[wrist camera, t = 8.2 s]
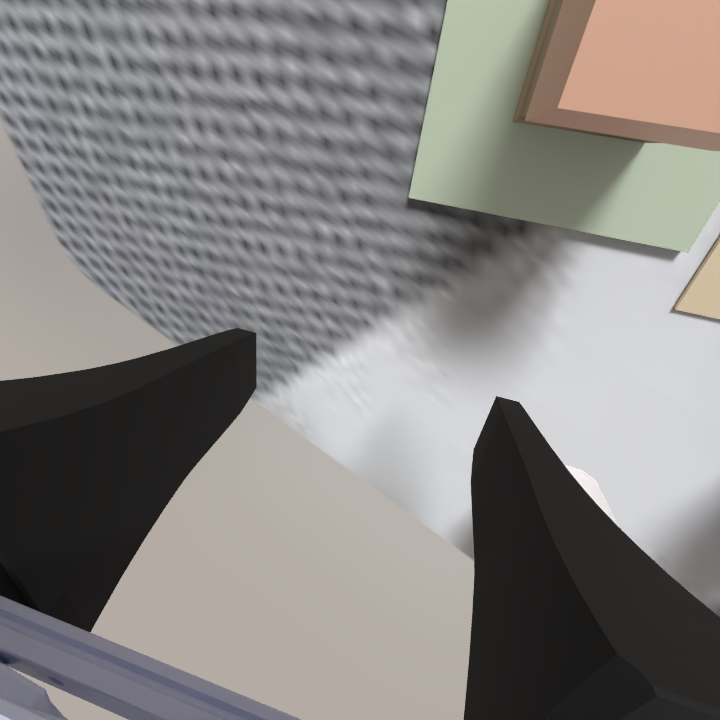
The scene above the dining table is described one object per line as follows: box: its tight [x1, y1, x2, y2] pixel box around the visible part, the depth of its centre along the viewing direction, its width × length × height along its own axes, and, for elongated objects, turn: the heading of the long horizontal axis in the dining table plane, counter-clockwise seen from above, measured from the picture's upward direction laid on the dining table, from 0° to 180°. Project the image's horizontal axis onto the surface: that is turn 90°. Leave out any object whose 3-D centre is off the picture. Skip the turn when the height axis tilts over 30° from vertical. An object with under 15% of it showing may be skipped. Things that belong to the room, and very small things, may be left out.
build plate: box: [409, 0, 720, 253], centre depth 14 cm, size 12×12×1 cm
